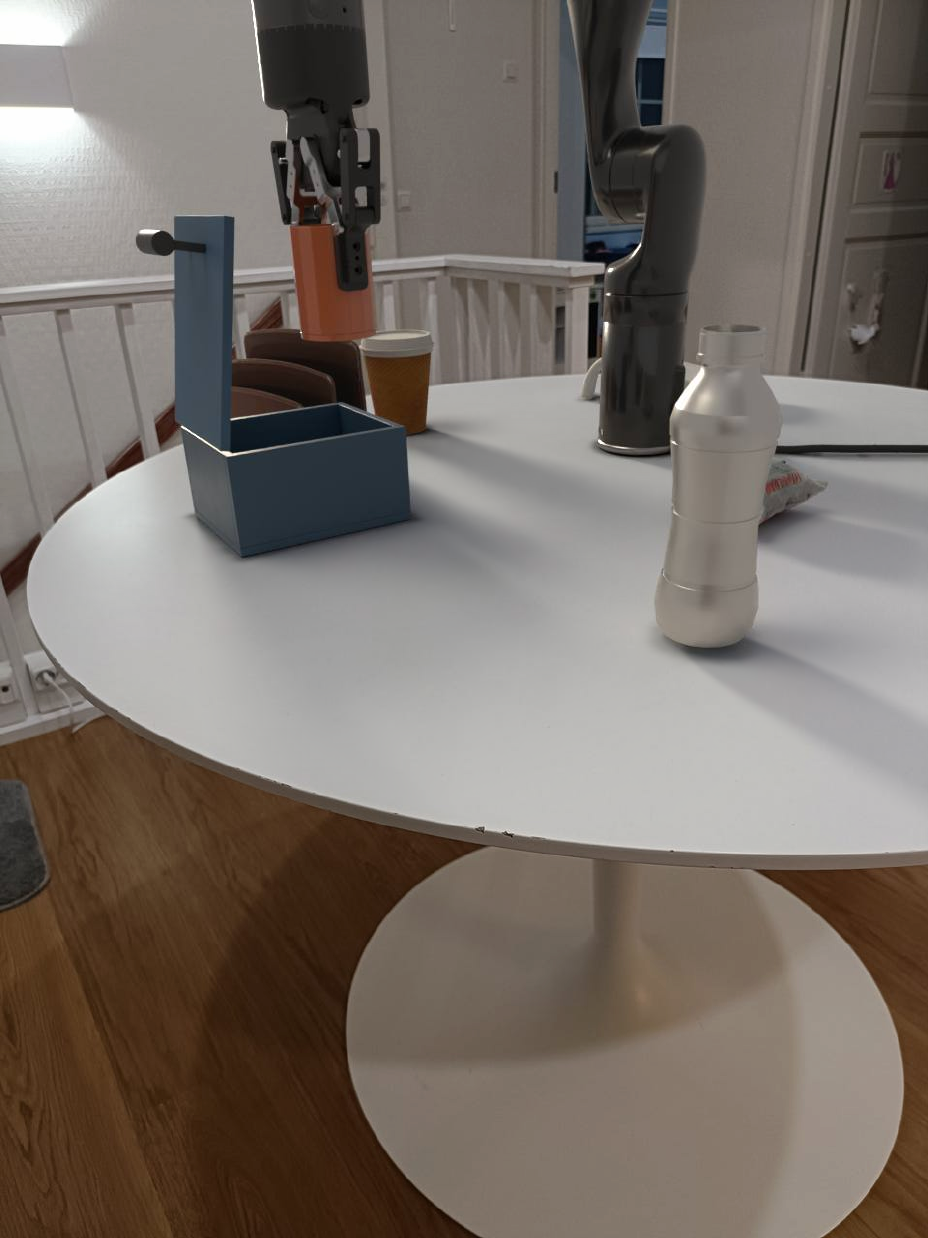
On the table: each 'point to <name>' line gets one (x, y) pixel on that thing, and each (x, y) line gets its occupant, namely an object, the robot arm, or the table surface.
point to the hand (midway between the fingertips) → (334, 286)
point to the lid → (201, 320)
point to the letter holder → (294, 373)
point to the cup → (328, 289)
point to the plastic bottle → (718, 490)
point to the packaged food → (787, 489)
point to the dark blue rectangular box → (299, 477)
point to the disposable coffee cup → (399, 375)
